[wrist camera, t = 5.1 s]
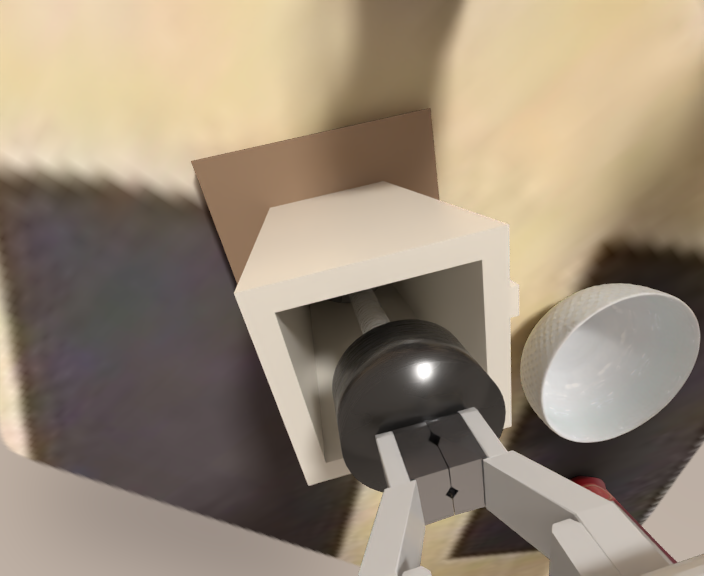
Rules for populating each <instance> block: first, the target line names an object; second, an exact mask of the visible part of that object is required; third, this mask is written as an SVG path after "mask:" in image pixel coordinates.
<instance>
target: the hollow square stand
mask: <svg viewBox="0 0 704 576" xmlns="http://www.w3.org/2000/svg"><path fill="white" fill-rule="evenodd" d="M191 162H192V165H193V168H194V170H195V173H196V176H197V178H198V181H199V184H200V186H201V189H202V192H203V194H204V197H205V200H206V202H207V205H208V208H209V210H210V213H211V216H212V218H213V221H214V223H215V226H216V229H217V231H218V234H219V237H220V239H221V242H222V245H223V247H224V250H225V253H226V255H227V258H228V261H229V263H230V266H231V269H232V271H233V274H234V276H235V279H236V282H237V284H238V285H237V287H236V290H235V292H234V295H235V297H236V300H237V302H238V305H239V308H240V310H241V313H242V315H243V318H244V321H245V323H246V326H247V328H248V331H249V333H250V336H251V339H252V341H253V344H254V346H255V349H256V352H257V354H258V357H259V359H260V362H261V365H262V367H263V370H264V372H265V375H266V377H267V380H268V383H269V385H270V388H271V390H272V393H273V396H274V398H275V401H276V403H277V406H278V409H279V411H280V414H281V416H282V419H283V421H284V424H285V427H286V429H287V432H288V434H289V437H290V440H291V442H292V445H293V447H294V450H295V452H296V455H297V458H298V460H299V463H300V465H301V468H302V471H303V473H304V476H305V478H306V481H307V484H308V486H310V485H313V484H317V483H320V482H323V481H327V480H330V479H334V478H337V477H340V476H344V475H347V474H351V472H350V471H349V469H348V468H347V466H346V464H345V461H344V459H343V455H342V450H341V444H340V437H339V431H338V425H337V418H336V412H335V406H334V399H333V393H332V381H333V375H334V372H335V368H336V366H337V364H338V362H339V360H340V358H341V357H342V355H343V353H344V352H345V351H346V350H347V348H348V347H349V346H350V345H351V344H352V343H353V342H354V341H355V340H356V339H358V338H359V337H360V336H362V335H363V333H362V331H361V328H360V325H359V323H358V320H357V317H356V315H355V312H354V309H353V306H352V304H351V303H337V302H332V301H329V300H327V299H330V298H334V297H338V296H342V295H346V294H350V293H354V292H358V291H362V290H366V289H370V288H373V287H377V286H379V287H378V288H377V289H376V290H375V291H374V294H375V296H376V297H377V299H378V301H379V303H380V305H381V306H382V308H383V310H384V312H385V314H386V315H387V317H388V319H389V321H390V322H392V321H397V320H405V319H419V320H425V321H429V322H432V323H436V324H438V325H440V326H442V327H444V328H445V329H447V330H448V331H450V332H451V333H452V334H453V335H454V336H455V337H456V338H457V339H458V341H459V342H460V343H461V344H462V345H463V346H464V348H465V349H466V350H467V351H468V352H469V353H470V354H471V356H472V357H473V358H474V359H475V360H476V361H477V363H478V364H479V365H480V366H481V367H482V368H483V370H484V371H485V372H486V373H487V374H488V375H489V376H490V378H491V379H492V380H493V381H494V382H495V384H496V385H497V386H498V388H499V389H500V391H501V393H502V395H503V399H504V402H505V409H506V415H505V423H504V428H508V427H511V426H512V416H511V331H510V318H511V317H515V316H519V284H517V283H515V282H514V281H512V280H510V246H509V224H507V223H504V222H501V221H498V220H495V219H492V218H489V217H487V216H484V215H481V214H478V213H475V212H472V211H469V210H466V209H463V208H460V207H457V206H455V205H452V204H449V203H446V202H443V201H440V200H439V192H438V182H437V172H436V161H435V151H434V140H433V130H432V119H431V109H430V108H428V109H424V110H419V111H415V112H410V113H406V114H401V115H397V116H392V117H388V118H383V119H379V120H374V121H370V122H365V123H361V124H356V125H352V126H347V127H343V128H338V129H334V130H329V131H325V132H320V133H316V134H311V135H307V136H302V137H298V138H293V139H289V140H284V141H280V142H275V143H271V144H266V145H262V146H257V147H253V148H248V149H244V150H239V151H235V152H230V153H226V154H221V155H217V156H212V157H208V158H203V159H199V160H194V161H191ZM504 428H503V429H504Z"/></svg>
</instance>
